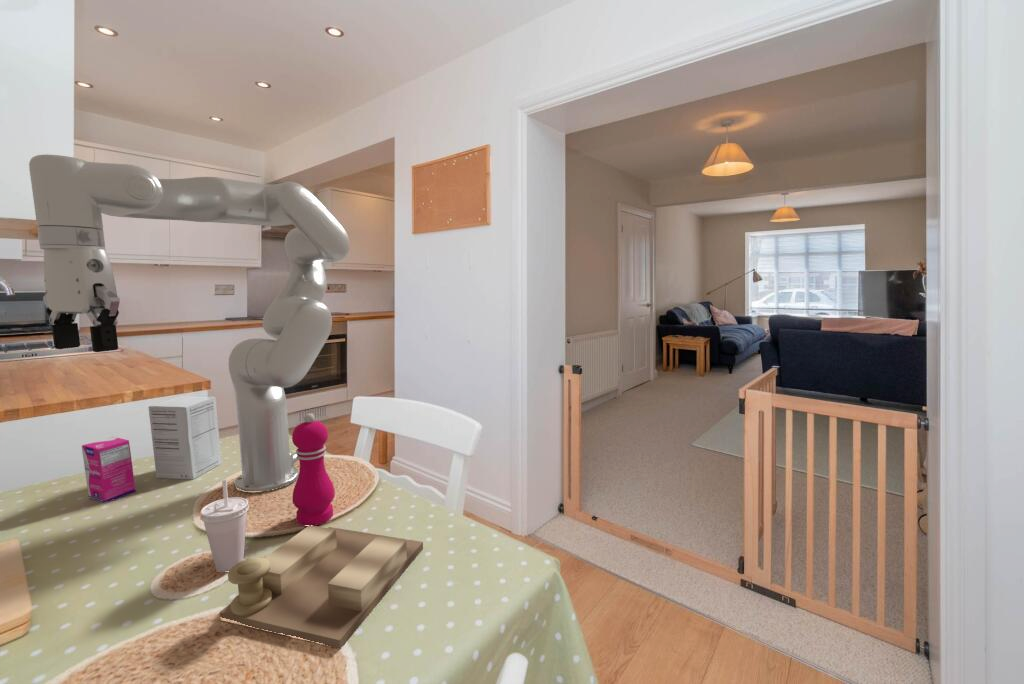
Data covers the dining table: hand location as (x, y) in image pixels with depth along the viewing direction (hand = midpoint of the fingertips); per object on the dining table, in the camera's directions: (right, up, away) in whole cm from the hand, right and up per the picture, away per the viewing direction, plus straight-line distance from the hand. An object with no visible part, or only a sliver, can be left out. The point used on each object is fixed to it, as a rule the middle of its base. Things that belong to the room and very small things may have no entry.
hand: (86, 349), depth 75 cm
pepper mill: (+32, -32, +12) cm, 46 cm away
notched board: (+42, -34, -6) cm, 54 cm away
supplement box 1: (-15, -31, +22) cm, 40 cm away
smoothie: (+24, -34, -2) cm, 42 cm away
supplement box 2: (-7, -29, +34) cm, 45 cm away
